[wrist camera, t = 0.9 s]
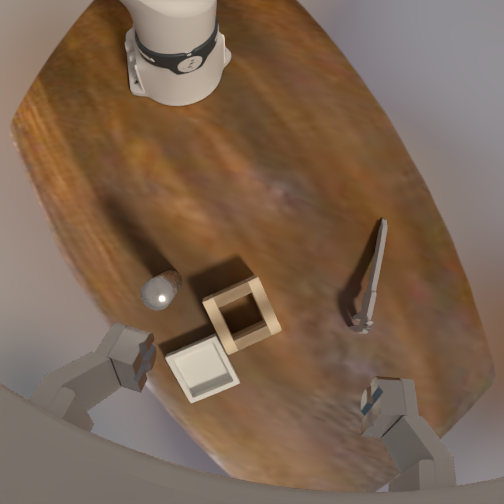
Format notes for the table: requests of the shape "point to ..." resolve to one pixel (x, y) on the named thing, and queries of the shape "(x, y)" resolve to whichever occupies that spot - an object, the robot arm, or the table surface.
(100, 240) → the table surface
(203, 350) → the tray
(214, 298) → the bore block
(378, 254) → the caliper
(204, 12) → the robot arm
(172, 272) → the grey rounded cylinder
